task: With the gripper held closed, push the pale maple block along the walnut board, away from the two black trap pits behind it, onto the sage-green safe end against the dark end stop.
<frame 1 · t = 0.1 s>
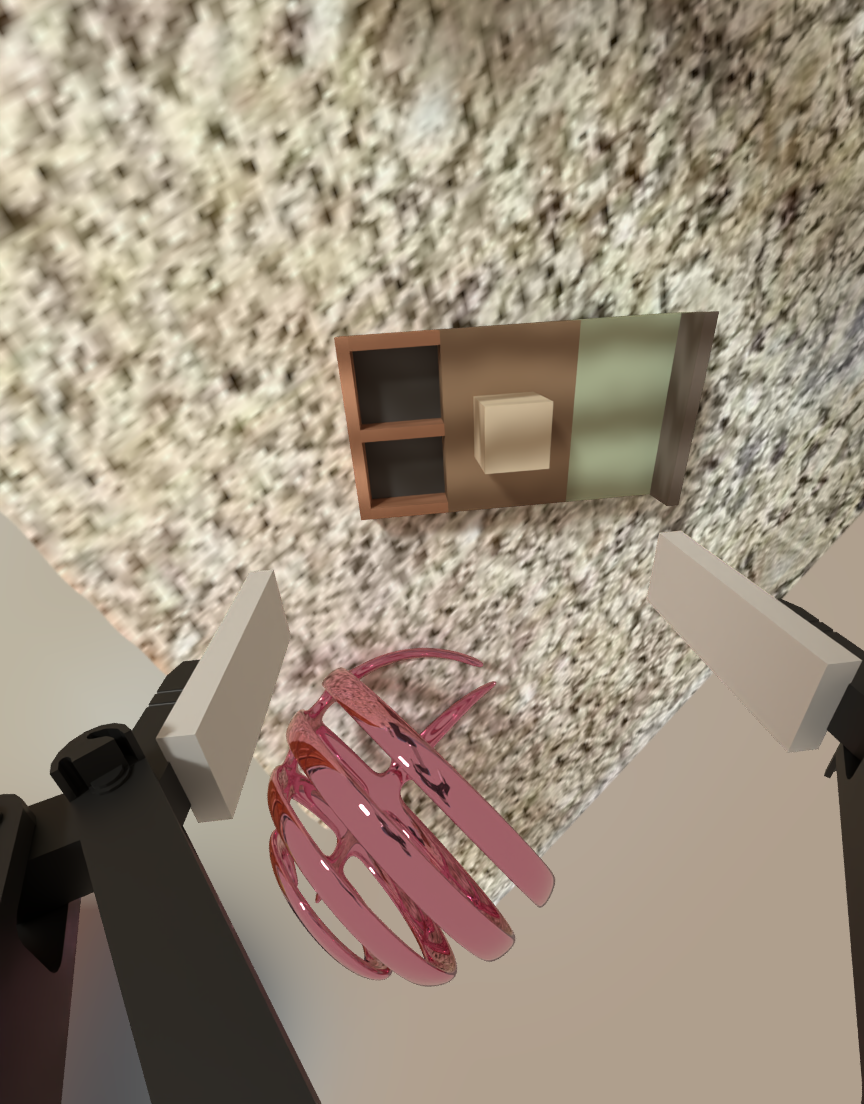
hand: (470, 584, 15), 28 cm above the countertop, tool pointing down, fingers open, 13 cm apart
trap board: (506, 417, 40), on the countertop
spiral basket: (398, 693, 55), on the countertop
maple block: (503, 425, 38), point 3 cm above the countertop, touching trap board
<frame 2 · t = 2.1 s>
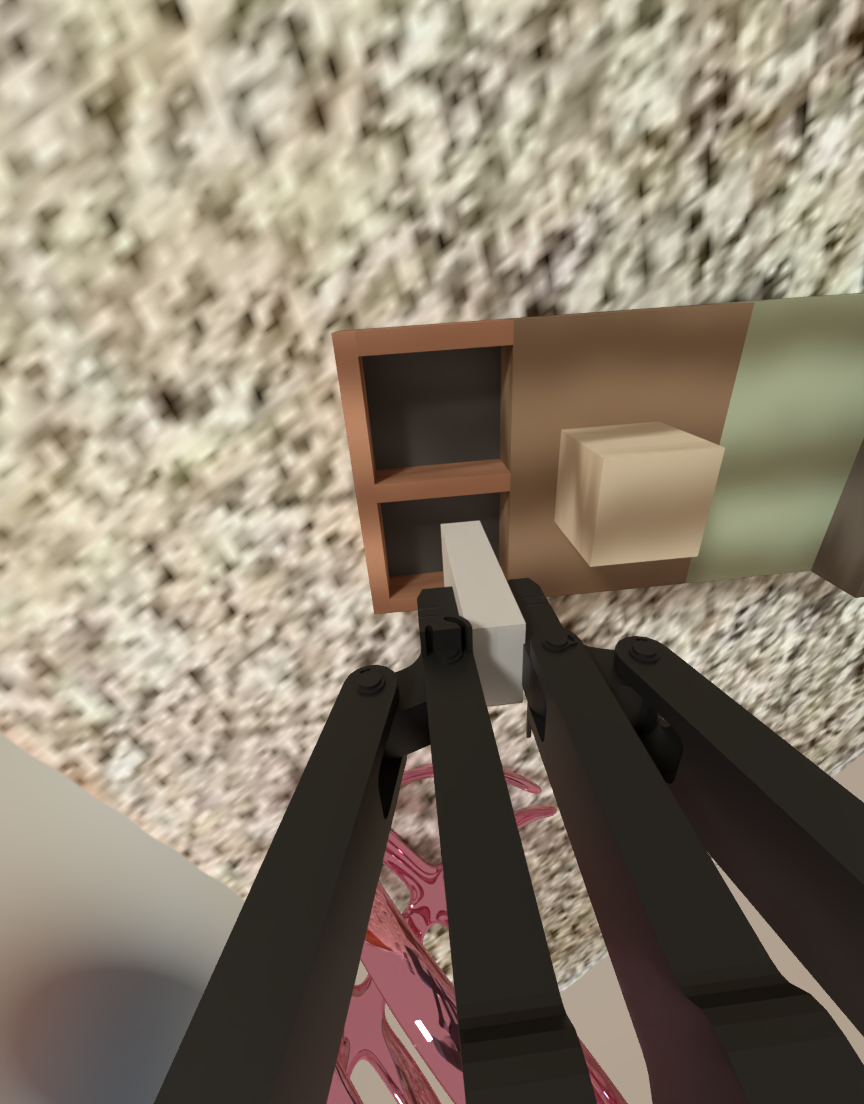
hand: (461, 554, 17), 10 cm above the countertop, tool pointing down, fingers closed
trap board: (599, 456, 26), on the countertop
spiral basket: (419, 811, 41), on the countertop
maple block: (604, 473, 23), point 3 cm above the countertop, touching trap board
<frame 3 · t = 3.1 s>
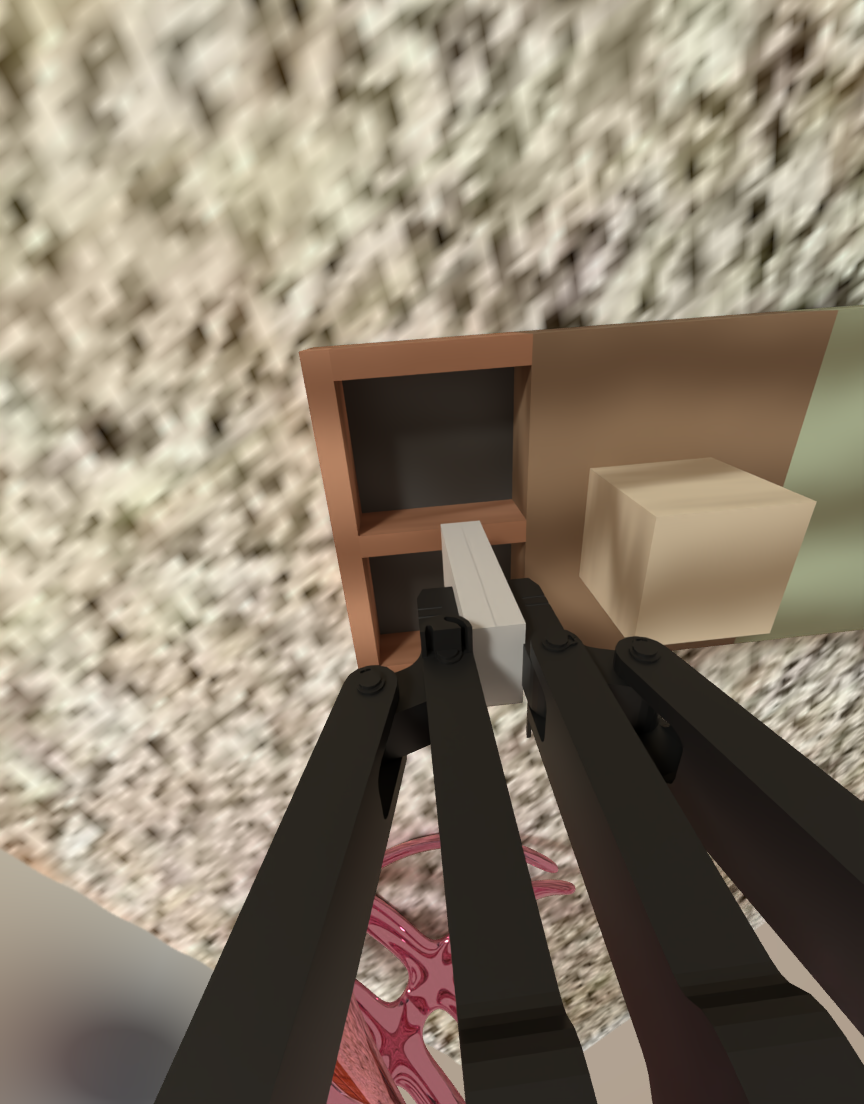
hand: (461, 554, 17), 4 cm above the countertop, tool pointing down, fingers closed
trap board: (630, 493, 22), on the countertop
spiral basket: (418, 882, 36), on the countertop
maple block: (641, 520, 19), point 3 cm above the countertop, touching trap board
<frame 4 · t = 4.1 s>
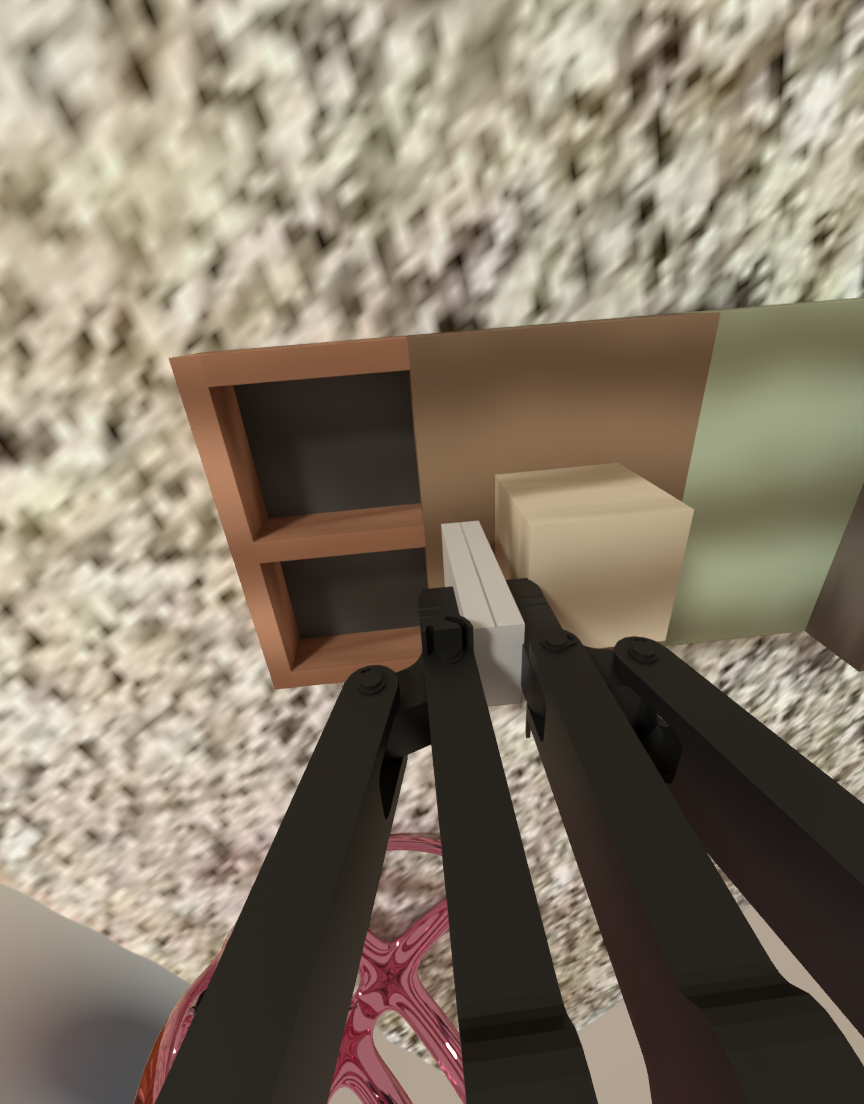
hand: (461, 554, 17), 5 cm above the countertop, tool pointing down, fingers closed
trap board: (544, 497, 21), on the countertop
spiral basket: (368, 884, 36), on the countertop
maple block: (553, 525, 19), point 3 cm above the countertop, touching gripper
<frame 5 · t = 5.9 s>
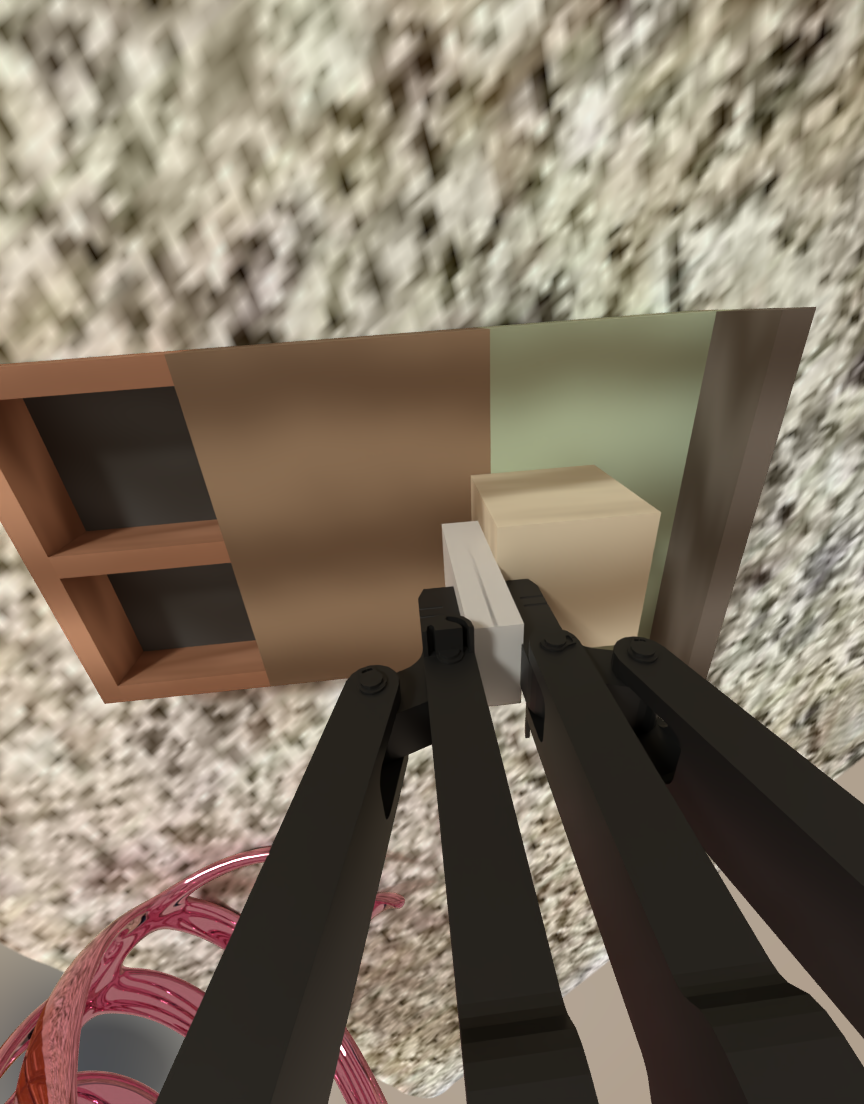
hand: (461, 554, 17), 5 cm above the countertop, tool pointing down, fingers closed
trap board: (375, 511, 21), on the countertop
spiral basket: (266, 893, 36), on the countertop
maple block: (530, 526, 19), point 3 cm above the countertop, touching gripper, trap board
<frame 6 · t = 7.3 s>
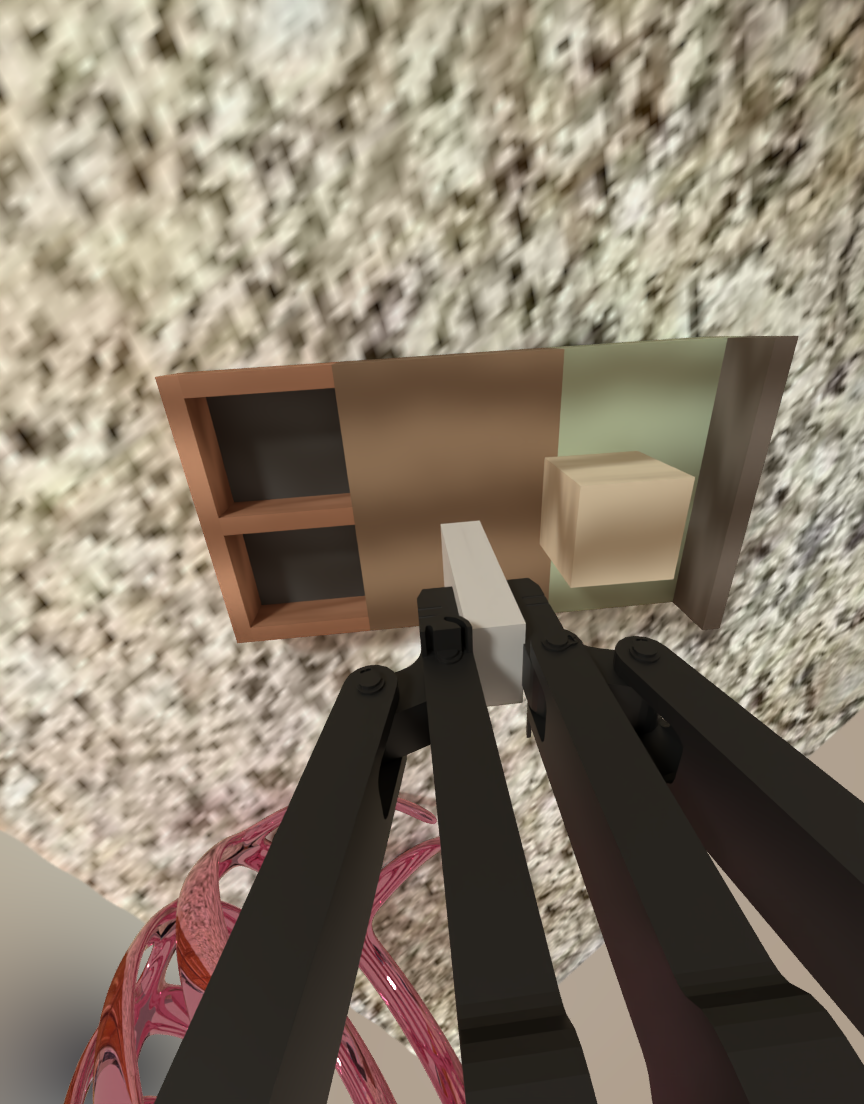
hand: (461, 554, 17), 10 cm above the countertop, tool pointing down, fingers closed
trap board: (457, 489, 27), on the countertop
spiral basket: (328, 841, 41), on the countertop
maple block: (586, 499, 24), point 3 cm above the countertop, touching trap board
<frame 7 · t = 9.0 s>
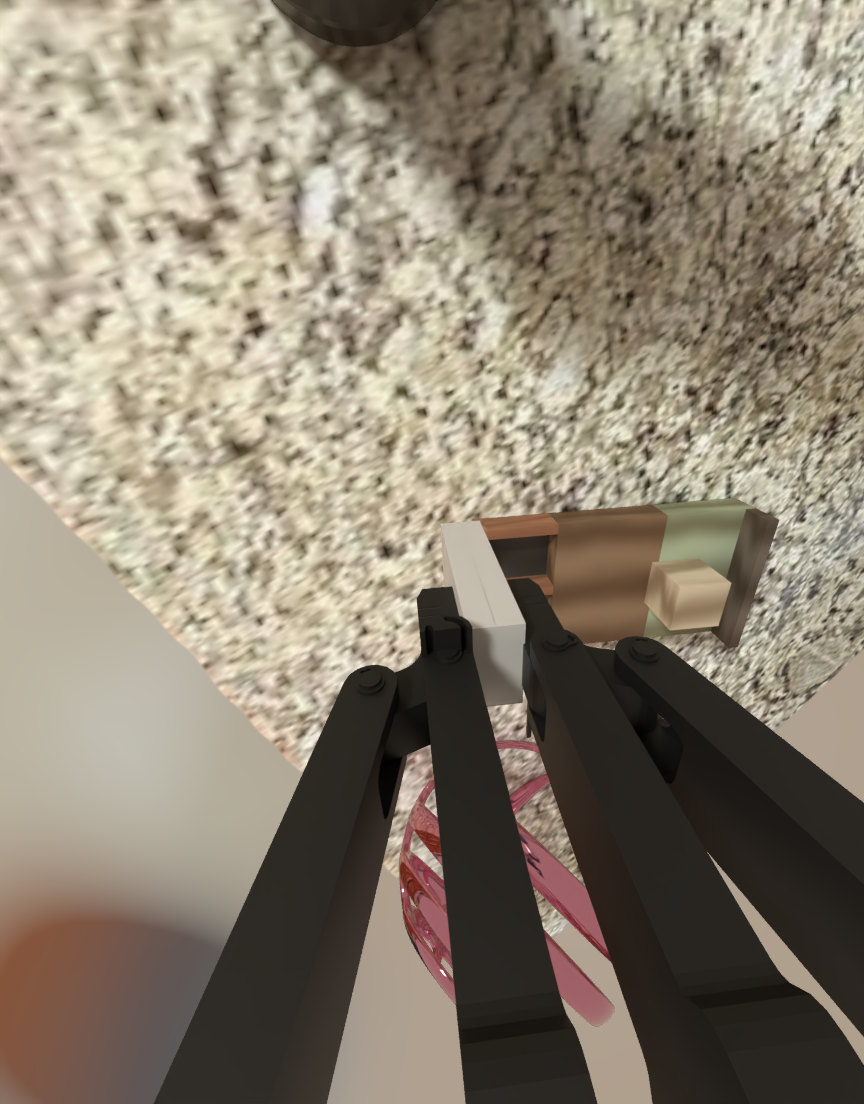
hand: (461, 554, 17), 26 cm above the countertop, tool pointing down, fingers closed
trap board: (597, 571, 50), on the countertop
spiral basket: (481, 774, 64), on the countertop
maple block: (670, 580, 47), point 3 cm above the countertop, touching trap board
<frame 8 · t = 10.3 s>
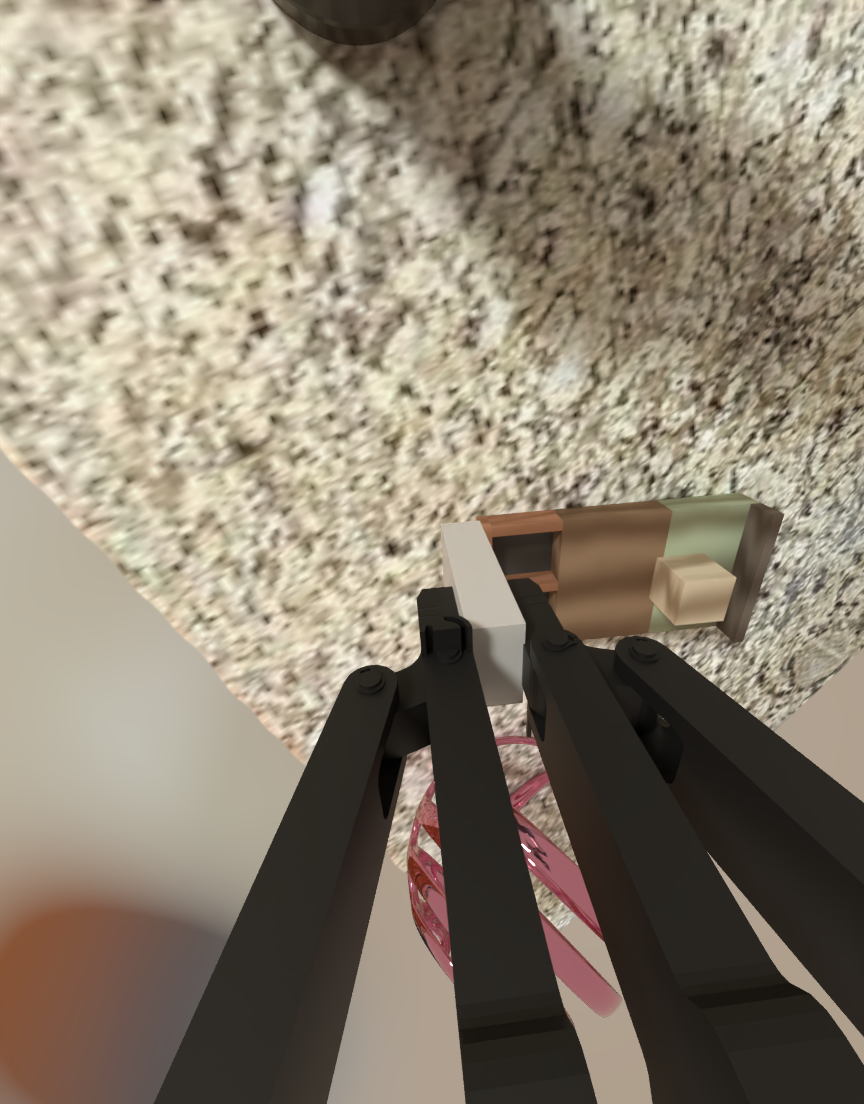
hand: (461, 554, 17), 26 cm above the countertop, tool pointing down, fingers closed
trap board: (601, 567, 50), on the countertop
spiral basket: (488, 769, 64), on the countertop
maple block: (675, 576, 47), point 3 cm above the countertop, touching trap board
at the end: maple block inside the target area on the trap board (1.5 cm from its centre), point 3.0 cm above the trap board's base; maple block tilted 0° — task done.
